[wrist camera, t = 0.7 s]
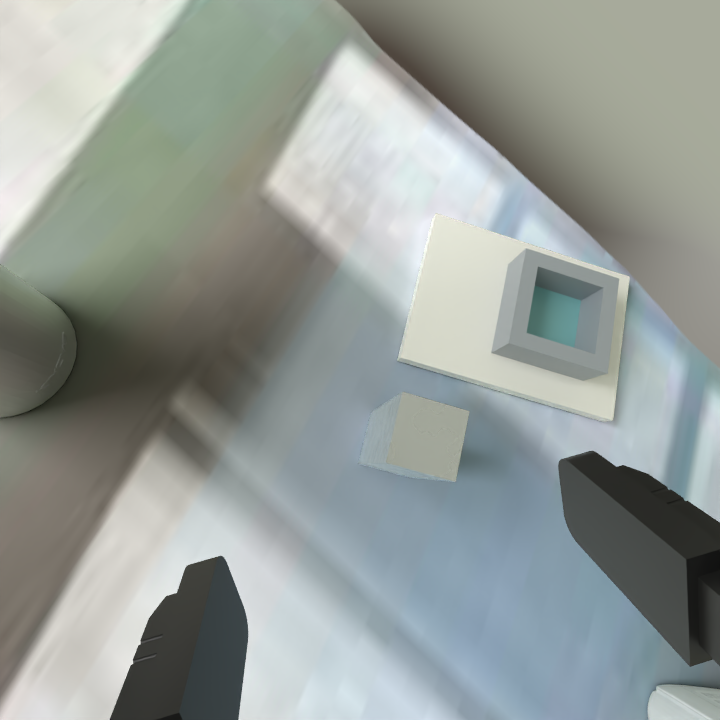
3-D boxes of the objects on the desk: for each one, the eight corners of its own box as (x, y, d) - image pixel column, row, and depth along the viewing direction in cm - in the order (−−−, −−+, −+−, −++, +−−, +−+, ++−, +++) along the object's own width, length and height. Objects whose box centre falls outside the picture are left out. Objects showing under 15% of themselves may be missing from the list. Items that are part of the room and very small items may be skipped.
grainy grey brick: (357, 463, 34) (385, 462, 25) (370, 411, 35) (402, 391, 26) (408, 477, 35) (455, 481, 25) (420, 426, 36) (469, 411, 26)
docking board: (397, 360, 37) (410, 347, 33) (431, 220, 40) (448, 192, 36) (603, 421, 38) (640, 416, 34) (620, 282, 42) (656, 262, 38)
